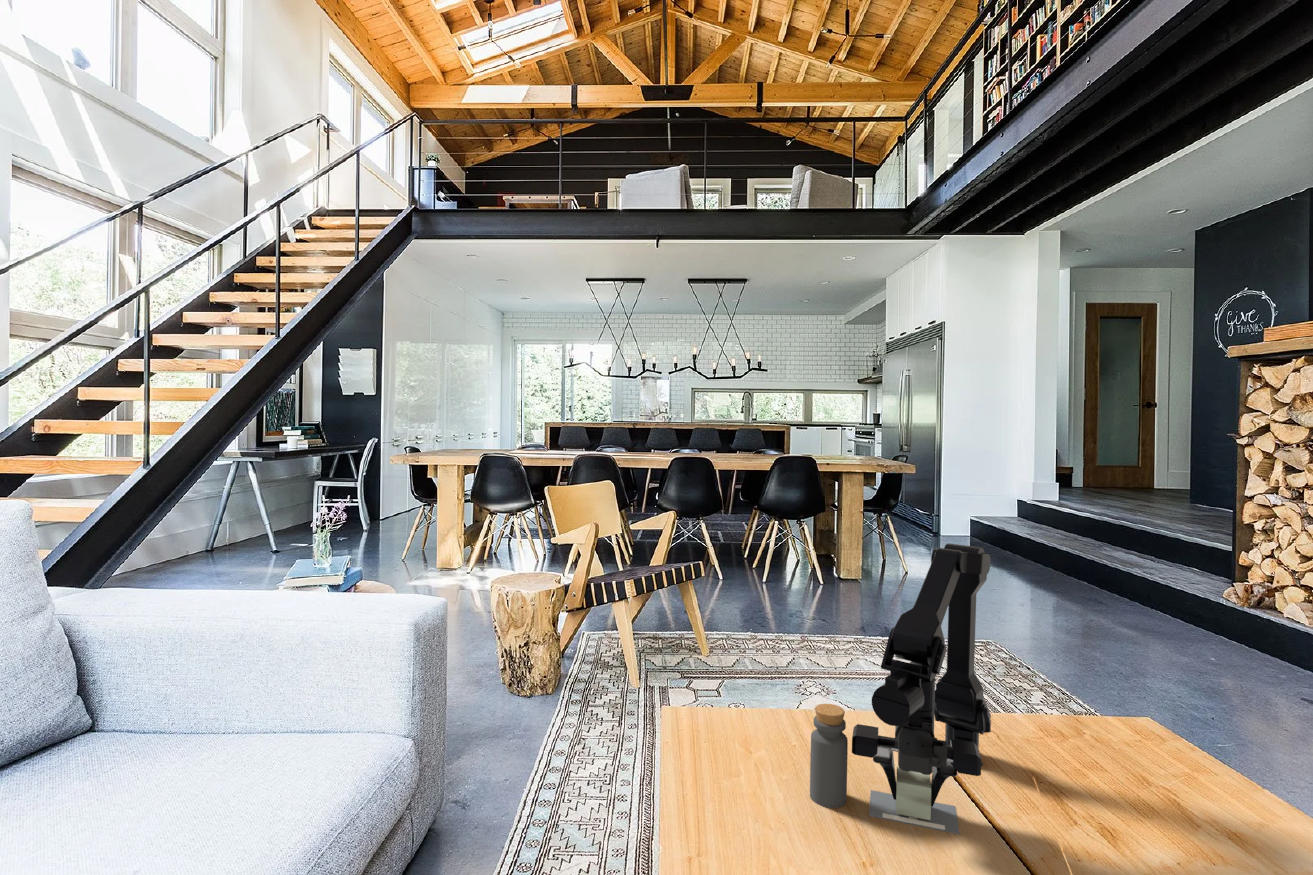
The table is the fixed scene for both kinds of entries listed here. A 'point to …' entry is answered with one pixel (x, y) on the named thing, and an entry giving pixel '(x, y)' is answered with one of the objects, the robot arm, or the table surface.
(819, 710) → the bottle
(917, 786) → the green block
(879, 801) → the letter tile
